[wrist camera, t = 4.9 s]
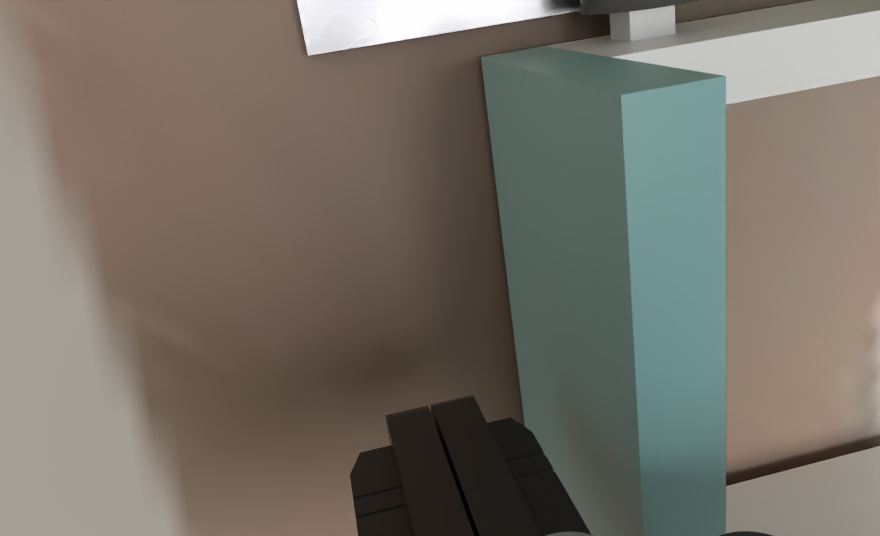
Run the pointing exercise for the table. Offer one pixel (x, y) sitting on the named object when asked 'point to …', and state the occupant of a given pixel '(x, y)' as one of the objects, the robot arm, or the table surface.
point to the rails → (409, 19)
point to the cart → (654, 259)
